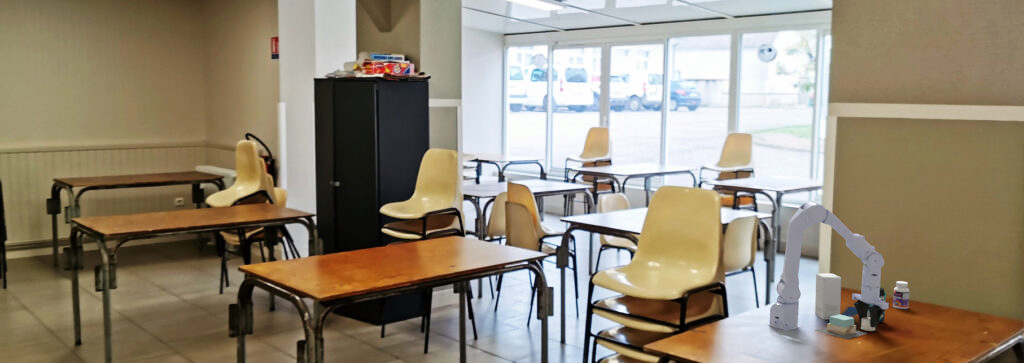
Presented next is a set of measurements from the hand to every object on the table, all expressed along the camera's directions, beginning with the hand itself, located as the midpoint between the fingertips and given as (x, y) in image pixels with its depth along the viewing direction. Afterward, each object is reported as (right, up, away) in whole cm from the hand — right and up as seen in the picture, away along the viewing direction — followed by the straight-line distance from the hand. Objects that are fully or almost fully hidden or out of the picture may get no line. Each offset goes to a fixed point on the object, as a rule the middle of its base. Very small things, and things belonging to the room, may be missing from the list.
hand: (868, 325), depth 281 cm
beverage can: (+7, -1, +13) cm, 15 cm away
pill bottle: (+27, +1, +33) cm, 43 cm away
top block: (-11, +1, -4) cm, 11 cm away
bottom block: (-11, -2, -4) cm, 11 cm away
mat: (-11, -2, -4) cm, 11 cm away
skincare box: (-8, 0, +17) cm, 18 cm away
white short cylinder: (0, -1, 0) cm, 2 cm away
